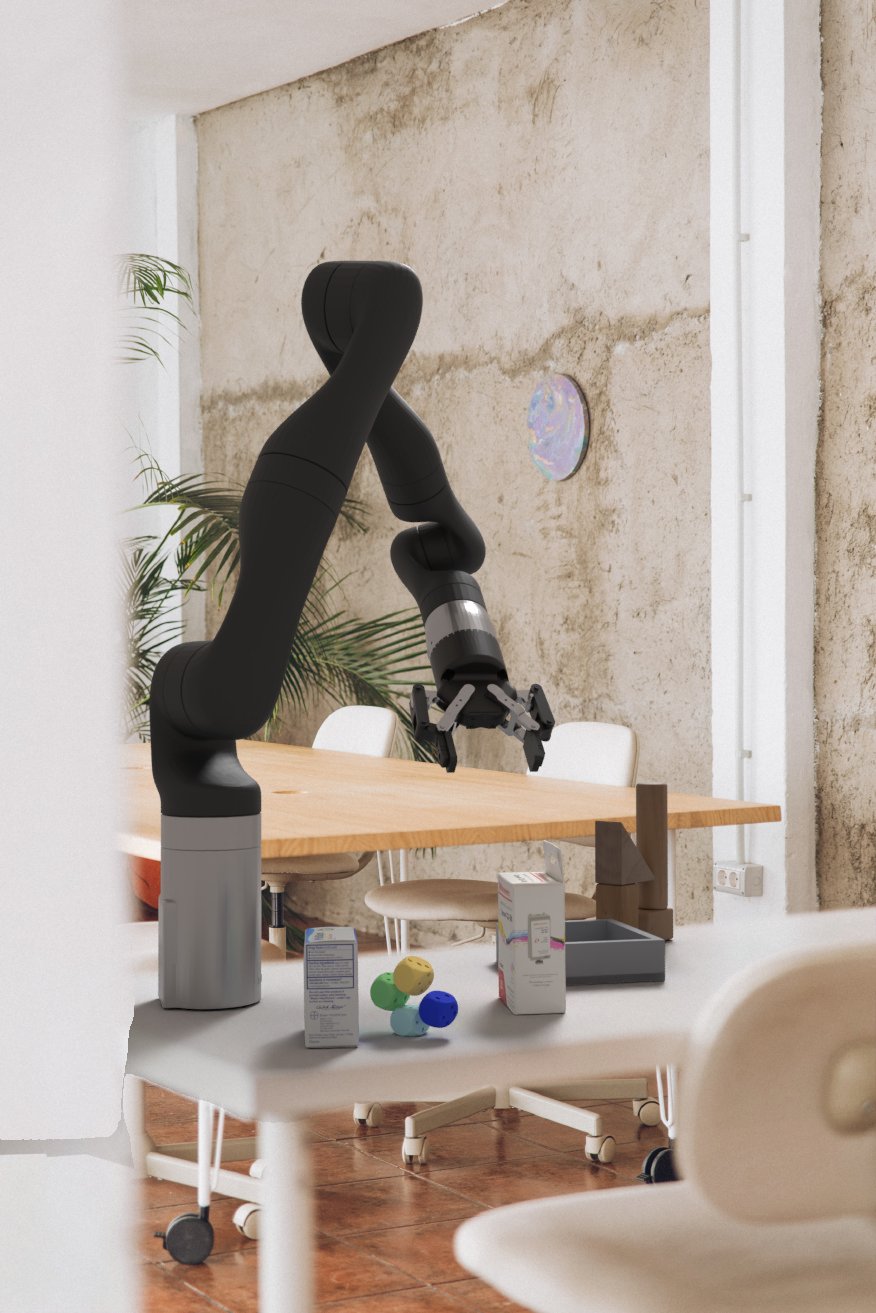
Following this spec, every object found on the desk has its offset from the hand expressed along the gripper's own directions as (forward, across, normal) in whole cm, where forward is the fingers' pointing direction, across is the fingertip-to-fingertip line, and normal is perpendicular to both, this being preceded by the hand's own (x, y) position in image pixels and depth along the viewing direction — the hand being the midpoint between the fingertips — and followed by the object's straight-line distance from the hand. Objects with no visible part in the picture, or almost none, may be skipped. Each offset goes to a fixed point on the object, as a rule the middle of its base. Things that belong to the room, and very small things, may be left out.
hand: (494, 766), depth 157 cm
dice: (+30, -13, 0) cm, 32 cm away
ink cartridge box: (+23, 0, +7) cm, 24 cm away
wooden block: (+1, +22, +29) cm, 36 cm away
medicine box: (+30, -20, +1) cm, 36 cm away
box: (+12, +10, +18) cm, 24 cm away
